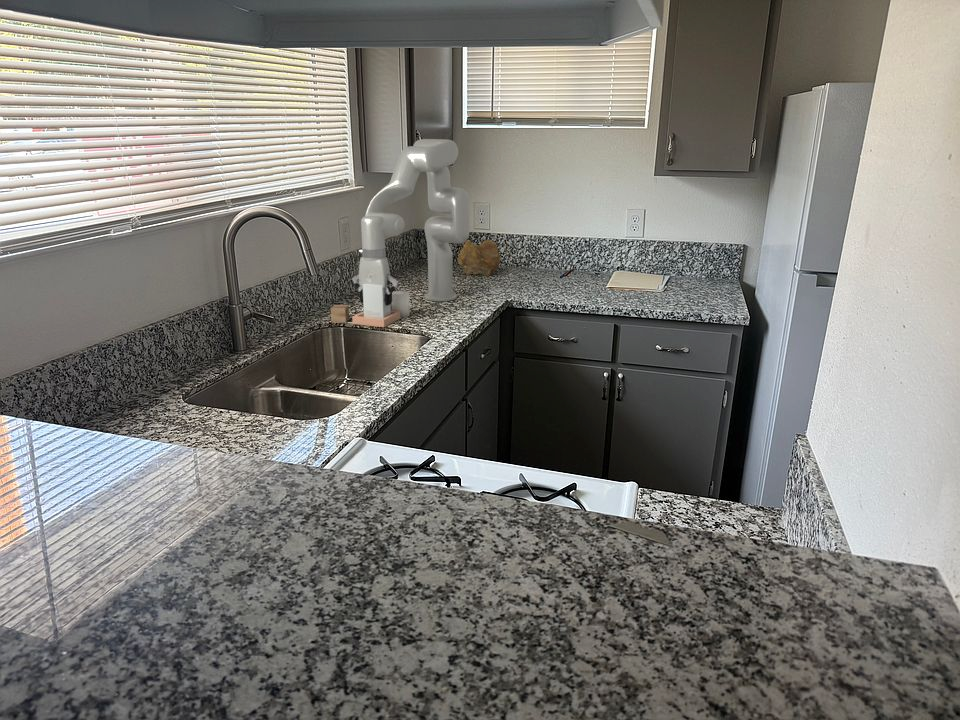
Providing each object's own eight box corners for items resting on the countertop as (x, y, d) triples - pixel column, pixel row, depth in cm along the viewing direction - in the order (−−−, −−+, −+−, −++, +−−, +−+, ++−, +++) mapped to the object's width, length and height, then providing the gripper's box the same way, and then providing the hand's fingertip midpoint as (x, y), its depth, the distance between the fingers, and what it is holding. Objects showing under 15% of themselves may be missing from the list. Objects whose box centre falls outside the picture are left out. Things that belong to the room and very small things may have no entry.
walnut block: (335, 318, 243) (334, 304, 242) (349, 319, 243) (348, 305, 241) (331, 322, 239) (330, 308, 237) (345, 322, 238) (345, 308, 237)
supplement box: (383, 322, 236) (382, 285, 232) (363, 320, 238) (361, 284, 233) (391, 316, 243) (390, 281, 239) (371, 315, 244) (370, 280, 240)
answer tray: (370, 315, 248) (369, 308, 247) (400, 318, 244) (400, 311, 243) (352, 323, 237) (352, 316, 236) (384, 327, 233) (383, 320, 232)
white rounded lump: (397, 312, 252) (396, 290, 250) (412, 313, 250) (412, 291, 248) (388, 316, 247) (387, 294, 244) (405, 318, 244) (404, 295, 242)
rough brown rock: (480, 282, 305) (483, 248, 300) (452, 273, 314) (454, 241, 309) (512, 275, 322) (515, 243, 317) (484, 267, 332) (487, 236, 327)
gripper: (345, 253, 232) (348, 303, 238) (391, 257, 227) (393, 308, 232) (356, 250, 239) (359, 298, 244) (402, 253, 233) (403, 303, 239)
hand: (376, 303), depth 238 cm, fingers open, 9 cm apart
